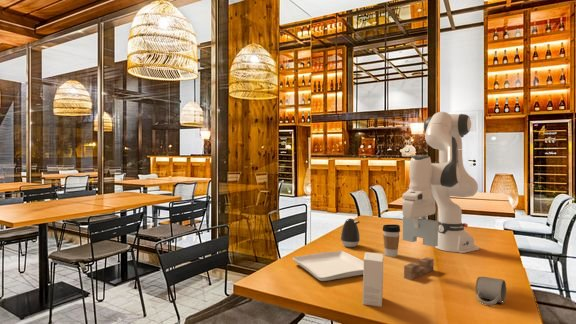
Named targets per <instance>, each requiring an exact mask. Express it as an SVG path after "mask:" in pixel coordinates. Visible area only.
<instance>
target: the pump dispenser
mask: <svg viewBox="0 0 576 324" xmlns="http://www.w3.org/2000/svg"><path fill="white" fill-rule="evenodd" d="M358 224H360V221H359V220H357V221H355V220H354V218H348V219H346V220H345V222H344V224H343V226H342V229H341V232H340V235H341V236H340V240H341V243H342V245H343V246H344V247H346V248H355V247H357V246H358V245H359V243H360V241H361V236H360V230H359V227H358Z"/></svg>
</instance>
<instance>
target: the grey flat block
mask: <svg viewBox="0 0 576 324" xmlns="http://www.w3.org/2000/svg"><path fill="white" fill-rule="evenodd" d="M438 221H439V220H432V219H429V218H427V219H422V218H421V217H419V220H418V222H419V224H420V227H419V228H415V227H414V222H413V220H412V219H408V218H404V216H402V240H403V241H406V242H410V243H414V242H417V241H418V239H417V238H420V239H422V245H424V246H427V247H433V248H436V247H435V246H438Z"/></svg>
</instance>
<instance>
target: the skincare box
mask: <svg viewBox="0 0 576 324" xmlns="http://www.w3.org/2000/svg"><path fill="white" fill-rule="evenodd" d="M363 261H364V269H363V277H362V305H365V306H371V307H372V306H373V307H380V308H381V307H383V292H384V291H383V290H384V254H383V253H378V252H368V251H367V252H364V256H363Z"/></svg>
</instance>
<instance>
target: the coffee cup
mask: <svg viewBox="0 0 576 324" xmlns="http://www.w3.org/2000/svg"><path fill="white" fill-rule="evenodd" d="M382 231H383V247H384V248H383V249H384V255H385V256H386V257H391V258H394V257H398V253H399V251H398V250H399V245H400V244H399V243H400V232H401V225H399V224H383V226H382Z"/></svg>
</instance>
